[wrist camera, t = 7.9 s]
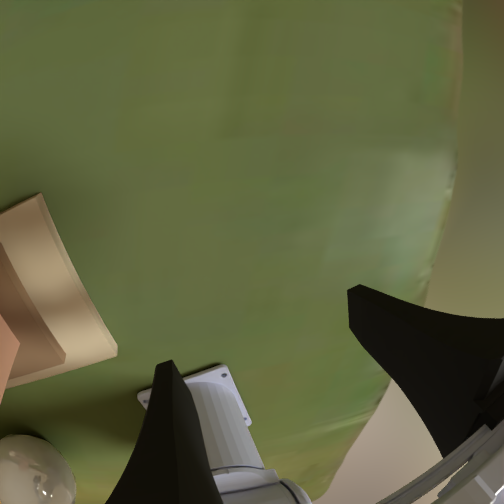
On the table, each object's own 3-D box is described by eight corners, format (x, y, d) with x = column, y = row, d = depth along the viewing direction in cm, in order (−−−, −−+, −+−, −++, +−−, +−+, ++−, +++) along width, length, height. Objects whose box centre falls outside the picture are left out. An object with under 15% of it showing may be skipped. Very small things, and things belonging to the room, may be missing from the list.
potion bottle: (86, 443, 27) (-24, 416, 23) (58, 445, 19) (-70, 404, 15) (91, 518, 22) (-22, 486, 18) (67, 543, 14) (-66, 492, 10)
